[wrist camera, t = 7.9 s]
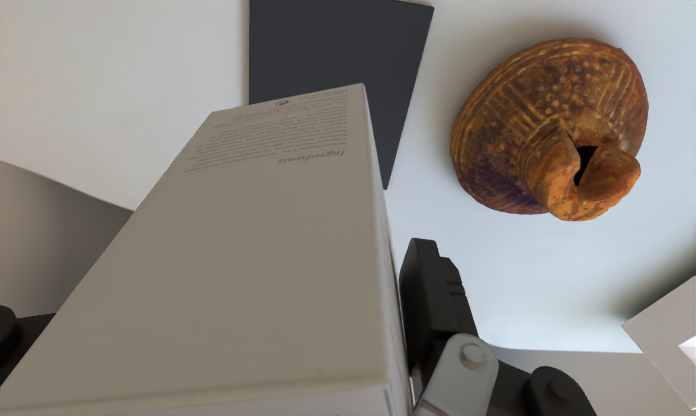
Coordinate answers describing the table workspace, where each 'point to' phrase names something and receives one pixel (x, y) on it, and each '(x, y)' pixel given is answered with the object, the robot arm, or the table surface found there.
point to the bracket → (670, 338)
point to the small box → (239, 282)
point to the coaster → (341, 56)
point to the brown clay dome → (553, 131)
